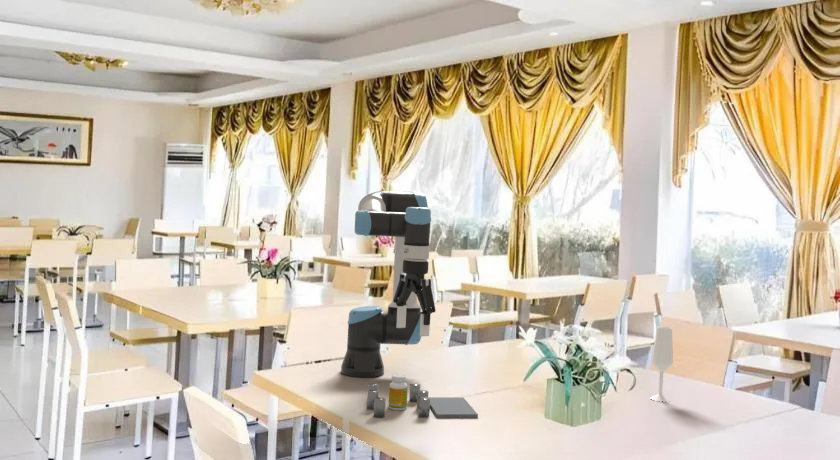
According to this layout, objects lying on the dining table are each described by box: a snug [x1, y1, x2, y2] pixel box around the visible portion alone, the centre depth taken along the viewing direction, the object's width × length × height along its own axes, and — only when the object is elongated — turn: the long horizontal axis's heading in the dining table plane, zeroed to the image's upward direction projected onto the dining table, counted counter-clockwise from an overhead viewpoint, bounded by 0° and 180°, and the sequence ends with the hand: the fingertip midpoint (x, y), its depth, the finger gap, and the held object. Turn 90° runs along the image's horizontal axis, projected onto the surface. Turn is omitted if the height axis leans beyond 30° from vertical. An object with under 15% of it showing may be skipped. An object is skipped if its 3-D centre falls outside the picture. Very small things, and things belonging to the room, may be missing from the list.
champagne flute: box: [649, 325, 674, 402], centre depth 247 cm, size 7×7×24 cm
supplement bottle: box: [388, 373, 408, 411], centre depth 223 cm, size 5×5×10 cm
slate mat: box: [428, 396, 479, 419], centre depth 225 cm, size 18×12×1 cm, turn 10°
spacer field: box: [366, 382, 431, 419], centre depth 223 cm, size 19×18×5 cm
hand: (412, 331), depth 221 cm, fingers open, 13 cm apart
